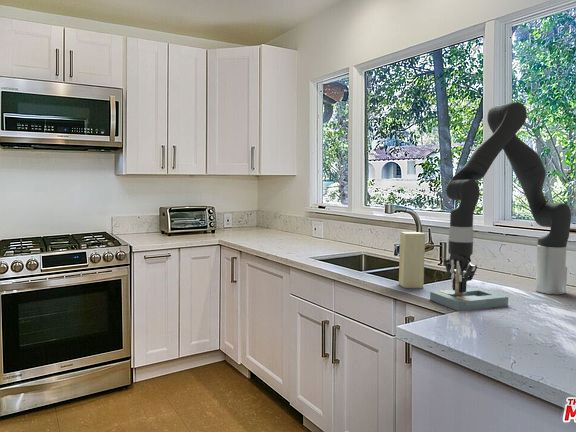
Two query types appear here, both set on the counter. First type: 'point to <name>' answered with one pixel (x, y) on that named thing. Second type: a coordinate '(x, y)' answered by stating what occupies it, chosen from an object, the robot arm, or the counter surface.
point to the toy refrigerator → (411, 259)
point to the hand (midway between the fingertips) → (459, 291)
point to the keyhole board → (469, 299)
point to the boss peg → (457, 284)
